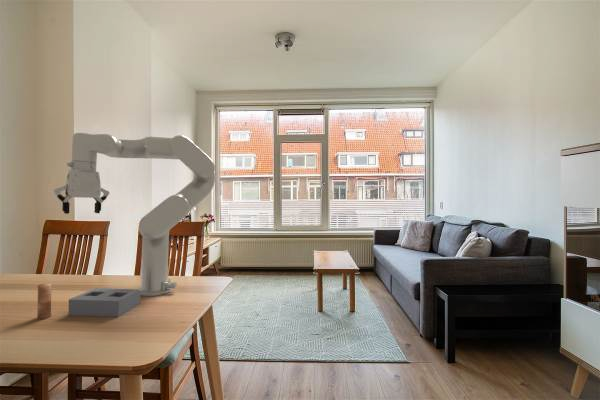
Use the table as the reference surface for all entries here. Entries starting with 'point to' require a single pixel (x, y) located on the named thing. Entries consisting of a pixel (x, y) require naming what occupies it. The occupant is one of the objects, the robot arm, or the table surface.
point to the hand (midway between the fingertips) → (82, 213)
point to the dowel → (44, 301)
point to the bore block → (104, 302)
